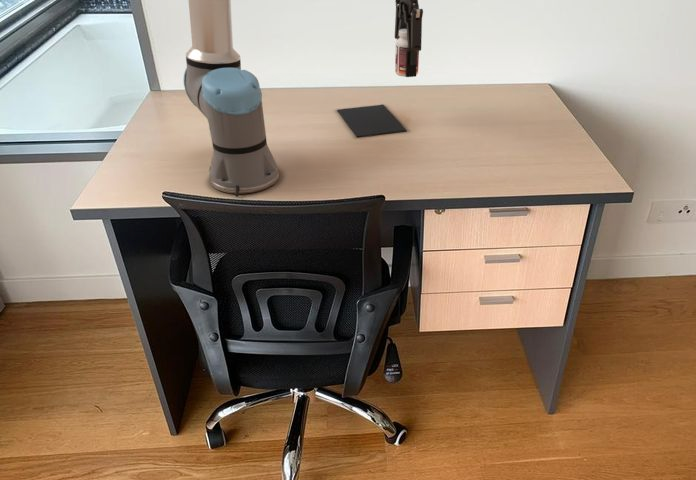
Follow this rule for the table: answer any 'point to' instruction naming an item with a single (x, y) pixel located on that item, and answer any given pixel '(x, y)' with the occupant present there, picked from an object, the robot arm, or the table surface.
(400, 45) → the pill bottle
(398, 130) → the mat
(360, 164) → the table surface
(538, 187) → the table surface
